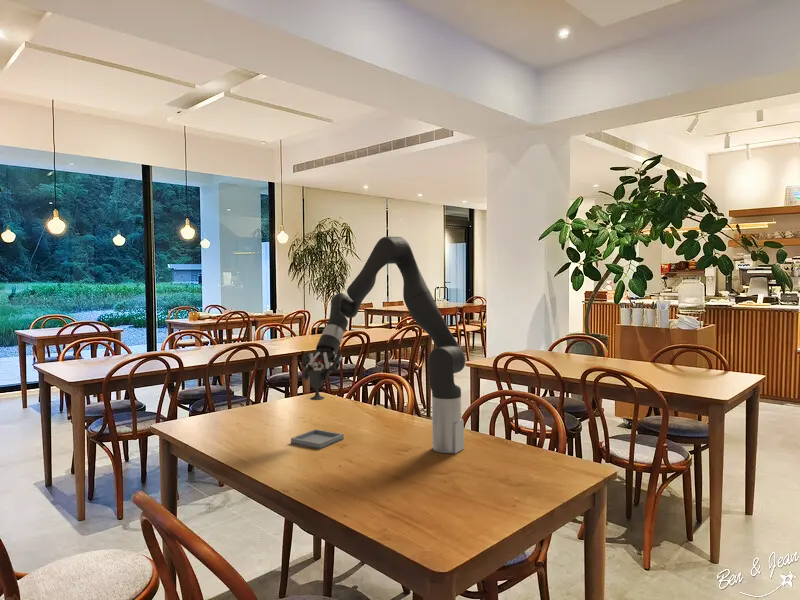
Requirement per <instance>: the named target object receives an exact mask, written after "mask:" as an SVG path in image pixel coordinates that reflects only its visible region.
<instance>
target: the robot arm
mask: <svg viewBox="0 0 800 600" xmlns="http://www.w3.org/2000/svg"><path fill="white" fill-rule="evenodd" d="M369 254H370V255H368V258H367V260H366V261H365V264H364V266H363V268H362V269H361V271H359V273H358V275H357V276H356V277H355V278H354V279H353V281H352V282H351V283H350V285H349V286H348V287H347V289H346V293H347V294H345V293H342V292H338V293H336V294H335V295H334V296H333V298H332V300H331V302H330V303H331V304H330V313H329V318H328V321H327V323H326V325H325V327H324V329H323V330H322V333H321V335H320V337H319V339H318V342H317V344H316V347H315V351H314V352H313V353H310V352H308V351H306V352H305V353H304V354H305V355H304V358H303V360H302V362H301V363H302V364H301V366H302V368H303V369H304V372H303V374H302V377H303V379H304V381H308V380H309V379H310V375H309V372H308V371H307V369H308V366H307V365H308V364H309V365H310V366H311V363H312V362H313V361H315V359H317V358H318V357H319V358H318V361H319V360H320V356H321V361H322V364H323V365H324V366H325V370H324V372H323V375H322V377H321V379H322V381H323V382H327V380H328V379H329V378H330V377H329V376H330V375H331V373H332V372H337V371H338V370H339V366H340V365H341V363H342V361H343V360H344V359H343V356H342V354H341V353H338V351H339V349H340V346H341V343H342V342H343V339H344V336H345V332H346V329H347V328H348V326H349V320H348V319H353V318H355V317H356V316H357V315H358V312H359V311H360V310H359V309H360V307H361V305H362V304H363V300H364V299H365V298H366V297H367V296H368V294H369V293H370V292H371V291H372V289H373V288H374V287H375V284H376V279H377V275H378V274H379V271H380V270H381V269H383V268H384V267H385V266H386V265H389V264H394V265H396V266H397V268H398V269H399V272H400V274H401V277H402V279H403V287H402V290H403V292H402V293H403V295H402V297H403V301H404V304H405V307H406V309H407V310H408V312H409V314H410V316H411V319H412V320H413V321H414V322H415V323H416V324H417V325H418V326H419V327H420V328H421V329H422V330H423V331H424V332H425V333H426V334H428V335H429V338H430V339H431V340H432V341H433V343H434V345H435V348H433V349H432V350H431V352H430V353H429V355H428V362H427V363H428V365H427V366H428V367H427V368H428V382H429V388H430V390H431V398H432V399H431V405H432V406H431V410H432V411H431V412H432V414H431V416H432V417H431V418H432V420H431V421H432V422H431V423H432V424H431V425H432V428H431V429H432V442H431V443H432V450H433V451H434V452H435V453H441V454H458V453H459V452H460V451H462V450H464V449H465V440H464V439H465V429H464V427H465V426H464V425H465V423H464V419H463V418H462V389H461V387H460V386H459V385H457V384H455V378H454V377H455V375H454V374H457V373H460V372H461V371H462V370H464V368H465V365H466V356H465V353H464V351H463V349H462V347H461V346H460V344H459V343H458V341H457V340H456V338H455V337H454V335H453V334H452V332H451V330H450V328H449V327H448V325H447V322H446V321H445V319H444V317H443V315H442V312H441V311H440V310H439V309H440V308H438V306H437V303H436V300H435V299H434V297H433V295H432V293H431V291H430V289H429V287H428V285H427V284H426V281H425V278H424V276H423V275H422V273H421V271H420V269H419V266H418V263H417V261H416V258H415V256H414V253H413V250H412V248H411V245H410V243H409V241H407V239H406V238H404V237H402V236H383V237H381V238H379V240H378V241H377V242H376V244H375V246H374V247H373V249H372V250H371V253H369ZM320 354H322V355H320Z"/></svg>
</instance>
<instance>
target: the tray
mask: <svg viewBox="0 0 800 600" xmlns="http://www.w3.org/2000/svg"><path fill="white" fill-rule="evenodd" d="M344 439H345V437H344V434H343V433H340V432H335V431H334V432H332V431H328V430H321V429H317V428H316V429H315V428H314V429H313V430H309V431H307V432H304V433H301V434H299V435H296V436H293V437H291V438H290V444H291V445H295V446H301V447H306V448H311V449H316V450H322V449H324V447H325V448H326V447H329V446H331V445H333V444H336V443H338V442H341V441H343V440H344Z"/></svg>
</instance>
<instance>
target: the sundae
mask: <svg viewBox="0 0 800 600" xmlns="http://www.w3.org/2000/svg"><path fill="white" fill-rule="evenodd" d="M320 355H322V354H320ZM318 358H319V357H318ZM318 358H317V359H315V361H313V362H312V363H311V366H310V365H309V364H308V365H307V366H308V369H307V371H308V372H309V375H310V376H309V379H310V385H311V387H312V388H314V389H315V393H314V395H313V396H311V397H310V398H309V400H312V401H322V400H325V397H324V396H321V395H320V391H319V389H320V388H321V387H323V385H324V381H322V379H321V377H322V375H323V372H324V370H325V369H326V365H323V364H322V361H321V356H320V360H319V361H318Z"/></svg>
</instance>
